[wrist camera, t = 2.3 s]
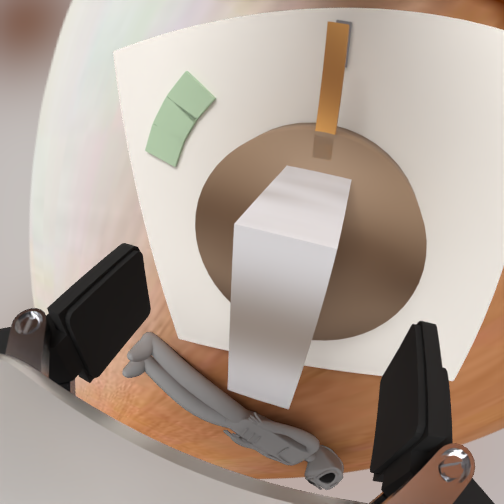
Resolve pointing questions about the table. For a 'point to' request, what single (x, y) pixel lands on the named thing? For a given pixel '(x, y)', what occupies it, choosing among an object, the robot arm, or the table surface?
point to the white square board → (350, 117)
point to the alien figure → (232, 412)
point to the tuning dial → (307, 239)
